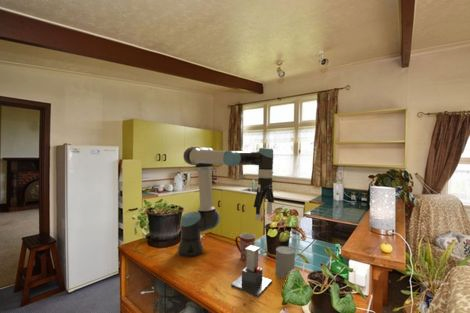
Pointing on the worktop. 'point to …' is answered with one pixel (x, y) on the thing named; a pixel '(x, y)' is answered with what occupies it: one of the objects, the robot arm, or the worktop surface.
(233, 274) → the worktop surface
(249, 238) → the mug
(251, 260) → the column
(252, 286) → the stand base
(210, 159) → the robot arm
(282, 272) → the gray cylinder
